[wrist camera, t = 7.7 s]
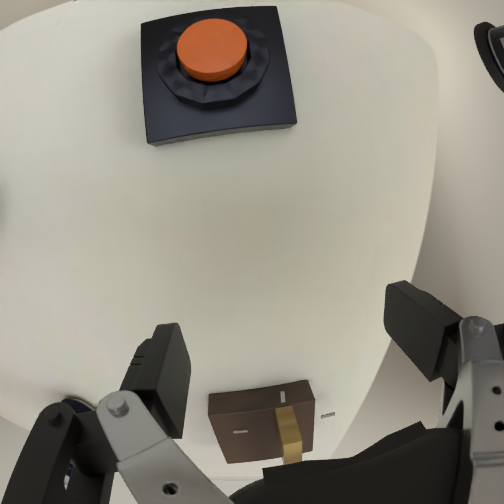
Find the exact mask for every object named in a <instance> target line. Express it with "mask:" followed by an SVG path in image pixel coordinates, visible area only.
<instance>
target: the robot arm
mask: <svg viewBox="0 0 504 504" xmlns="http://www.w3.org/2000/svg"><path fill="white" fill-rule="evenodd" d="M486 39H487V43H488V47H489V50H490V52H491V55H492V57H493V59H494V61H495V63H496V65H497V67H498V69H499V71H500V72H501V74H502V75H503V77H504V25H503V26H499V27H496V28H491V29H488V30H487V32H486ZM384 326H385V330H386V332H387V333H388V334H389V336H390V337H391V338H392V339H393V340H394V341H395V342H396V343H397V345H398V346H399V347H400V348H401V349H402V350H403V351H404V353H405V354H406V355H407V356H408V357H409V358H410V359H411V361H412V362H413V363H414V364H415V365H416V366H417V368H418V369H419V370H420V371H421V372H422V373H423V374H424V376H425V377H426V378H427V379H428V381H429V382H431V381H433V380H435V379H437V378H439V377H442V378H443V381H442V384H441V393H440V404H439V414H438V422H437V426H436V428H432V429H426V428H425V427H424V426H423V424H422V422H421V421H419V422H417V423H415V424H413V425H410V426H408V427H406V428H404V429H402V430H399V431H397V432H394V433H392V434H390V435H387V436H386V437H384V438H383V439H381V440H380V441H378V442H377V443H375V444H374V445H372V446H370V447H369V448H367V449H365V450H364V451H362V452H360V453H359V454H357V455H355V456H353V457H350V458H342V459H329V460H306V461H301V462H296V463H291V464H286V465H280V466H274V467H268V468H262V470H263V477H264V478H263V479H261V480H258V481H255V482H253V483H251V484H248V485H246V486H245V487H243V488H241V489H239V490H237V491H236V492H235V493H233V494H232V495H230V496H229V497H227V496H226V495H225V494H224V493H223V492H221V490H220V489H219V488H217V487H216V486H215V485H214V484H213V483H212V482H211V481H210V480H209V479H208V478H207V477H206V476H205V475H204V474H203V473H202V471H201V470H200V469H199V468H198V467H197V466H196V465H195V464H194V463H193V462H192V461H191V460H190V459H189V457H188V456H187V455H186V454H185V453H184V452H183V451H182V450H181V448H180V447H179V446H178V445H177V444H176V442H175V441H174V440H173V439H182V435H183V427H184V419H185V411H186V404H187V396H188V389H189V382H190V376H191V362H190V357H189V354H188V351H187V348H186V345H185V342H184V339H183V336H182V332H181V329H180V326H179V324H178V323H169V324H160V325H157V326H156V329H155V331H154V334H153V336H152V339H146V340H145V341H144V342H143V343H142V344H141V345H140V346H138V348H137V350H136V352H135V354H134V358H133V359H132V361H131V363H130V365H131V366H129V368H128V370H127V373H126V375H125V377H124V380H123V382H122V384H121V387H120V389H119V391H116V392H113V393H110V394H108V395H107V396H105V397H104V398H103V399H102V400H101V401H100V402H99V404H98V406H97V409H96V410H94V411H89V412H84V413H78V414H76V413H75V412H74V410H73V409H72V408H71V406H70V405H68V404H67V403H63V402H58V403H53V404H51V405H49V406H47V407H46V408H44V409H43V410H42V412H41V413H40V414H39V416H38V418H37V420H36V422H35V424H34V426H33V428H32V430H31V432H30V434H29V436H28V438H27V440H26V443H25V445H24V447H23V449H22V451H21V454H20V456H19V458H18V461H17V463H16V465H15V468H14V470H13V473H12V475H11V478H10V480H9V483H8V485H7V489H6V491H5V494H4V497H3V500H2V503H1V504H109V501H110V495H111V489H112V484H113V478H114V473H115V472H119V473H120V474H121V476H122V478H123V479H124V481H125V483H126V485H127V487H128V488H129V490H130V491H131V493H132V495H133V496H134V498H135V500H136V501H137V503H138V504H504V323H503V324H499V325H494V326H493V325H492V323H491V322H490V321H488V320H487V319H485V318H482V317H478V316H470V317H466V318H462V317H461V316H459V315H458V314H457V313H456V312H454V311H453V310H451V309H450V308H449V307H447V306H446V305H443V303H442V302H440V301H439V300H436V298H435V297H433V296H432V295H431V294H429V293H427V292H425V291H422V290H419V289H417V288H416V287H414V286H413V285H412V284H410V283H409V282H407V281H406V280H403V281H399V282H395V283H391V284H388V285H387V287H386V293H385V308H384ZM70 462H71V463H72V464H73V467H72V471H71V474H70V478H69V481H68V485H67V488H66V489H65V484H64V480H65V476H66V473H67V470H68V467H69V463H70Z"/></svg>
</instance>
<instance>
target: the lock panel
mask: <svg viewBox="0 0 504 504" xmlns="http://www.w3.org/2000/svg"><path fill="white" fill-rule="evenodd" d="M290 405H292V407H293V410H294V414H295V417H296V421H297V424H298V428H299V431H300V435H301V438H302V453H305V452H310V451H312V449H313V433H314V412H315V398H314V396H313V393H312V390H311V388H310V385H309V382H308V380H304V381H299V382H294V383H289V384H283V385H278V386H272V387H265V388H259V389H252V390H244V391H236V392H228V393H218V394H209V402H208V417H209V420H210V422H211V425H212V427H213V430H214V433H215V435H216V438H217V440H218V443H219V445H220V448H221V450H222V452H223V455H224V457H225V460H226V462H227V464H231V463H242V462H251V461H259V460H267V459H273V458H279V457H282V455H281V450H280V445H279V440H278V431H277V422H276V413H275V408H279V407H285V406H290ZM334 415H335V412H333V413H329V414H326V415H321V418H326V417H330V416H334Z"/></svg>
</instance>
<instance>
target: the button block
mask: <svg viewBox="0 0 504 504" xmlns="http://www.w3.org/2000/svg"><path fill="white" fill-rule="evenodd" d="M206 19H223V20H227V21H230V22H232V23H234V24H235V25H237V26H238V27H239V28H240V29H241V30H242V31H243V32H244V34H245V36H246V40H247V49H246V55H245V60H244V63H243V65H242V66H241V68H240V69H239V70H238V71H237V72H236V73H235V74H234V75H232V76H231V77H229V78H227V79H224V80H221V81H216V82H206V81H200V80H197V79H195V78H193V77H191V76H190V75H189V74H188V73H187V72H186V71H185V70H184V68H183V66H182V64H181V62H180V59H179V57H178V54H177V43H178V40H179V38H180V36H181V35H182V33H183V32H184V31H185V30H186V29H187V28H188V27H190V26H191V25H193V24H195V23H197V22H199V21H202V20H206ZM141 70H142V90H143V104H144V116H145V127H146V137H147V143H148V144H151V145H153V146H159V145H164V144H169V143H174V142H180V141H185V140H191V139H197V138H203V137H210V136H217V135H224V134H231V133H240V132H249V131H259V130H270V129H284V128H291V127H292V126H293V125H295V124H296V123H297V118H296V111H295V104H294V98H293V91H292V85H291V79H290V73H289V67H288V61H287V55H286V50H285V45H284V39H283V34H282V29H281V25H280V20H279V15H278V10H277V7H276V6H250V7H233V8H222V9H213V10H205V11H198V12H192V13H186V14H180V15H175V16H170V17H165V18H161V19H157V20H153V21H149V22H145V23H142V24H141Z"/></svg>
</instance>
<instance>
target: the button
mask: <svg viewBox="0 0 504 504" xmlns="http://www.w3.org/2000/svg"><path fill="white" fill-rule="evenodd" d="M246 49H247V40H246V36H245V34H244V32H243V31H242V30H241V29H240V28H239V27H238V26H237V25H235V24H234V23H232V22H230V21H227V20H223V19H206V20H202V21H199V22H197V23H195V24H193V25H191V26H190V27H188V28H187V29H186V30H185V31H184V32H183V33H182V35H181V36H180V38H179V40H178V43H177V54H178V57H179V59H180V62H181V64H182V66H183V68H184V70H185V71H186V72H187V73H188V74H189V75H190V76H191V77H193V78H195V79H197V80H200V81H206V82H216V81H221V80H224V79H227V78H229V77H231V76H232V75H234V74H235V73H236V72H237V71H238V70H239V69H240V68H241V66H242V65H243V63H244V60H245V55H246Z"/></svg>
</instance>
